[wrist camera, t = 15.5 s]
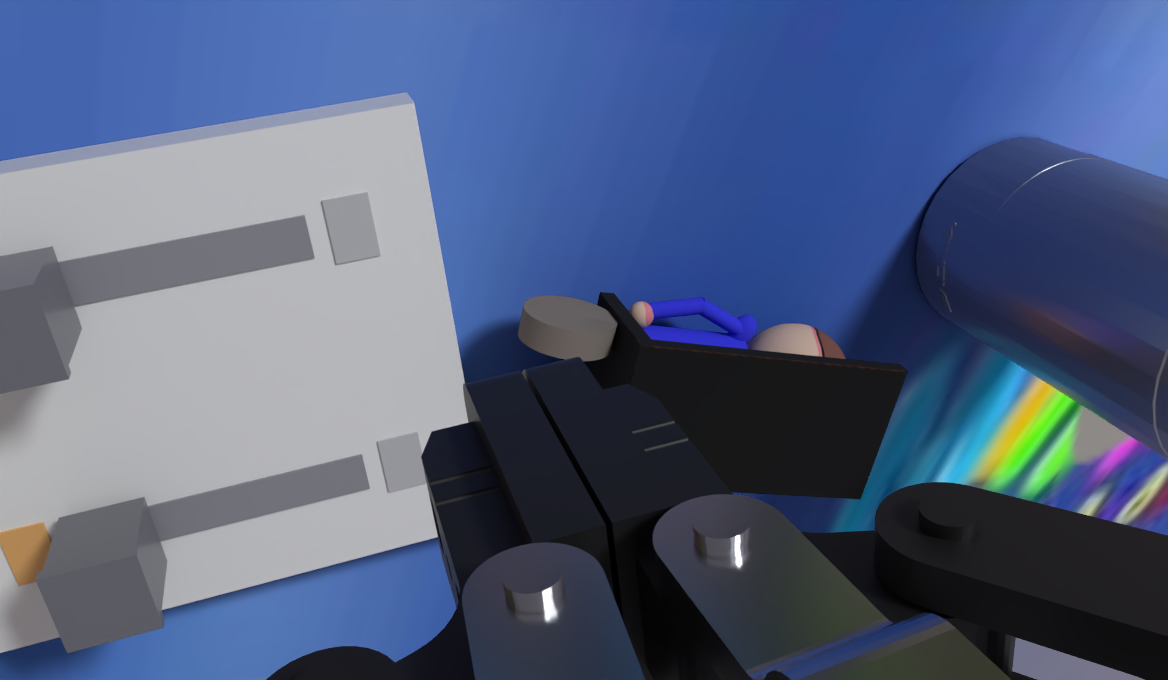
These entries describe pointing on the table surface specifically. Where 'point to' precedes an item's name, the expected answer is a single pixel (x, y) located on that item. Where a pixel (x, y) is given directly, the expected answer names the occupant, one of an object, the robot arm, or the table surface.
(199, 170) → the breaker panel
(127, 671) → the table surface
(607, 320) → the black toy car
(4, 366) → the handle
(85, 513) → the on handle
